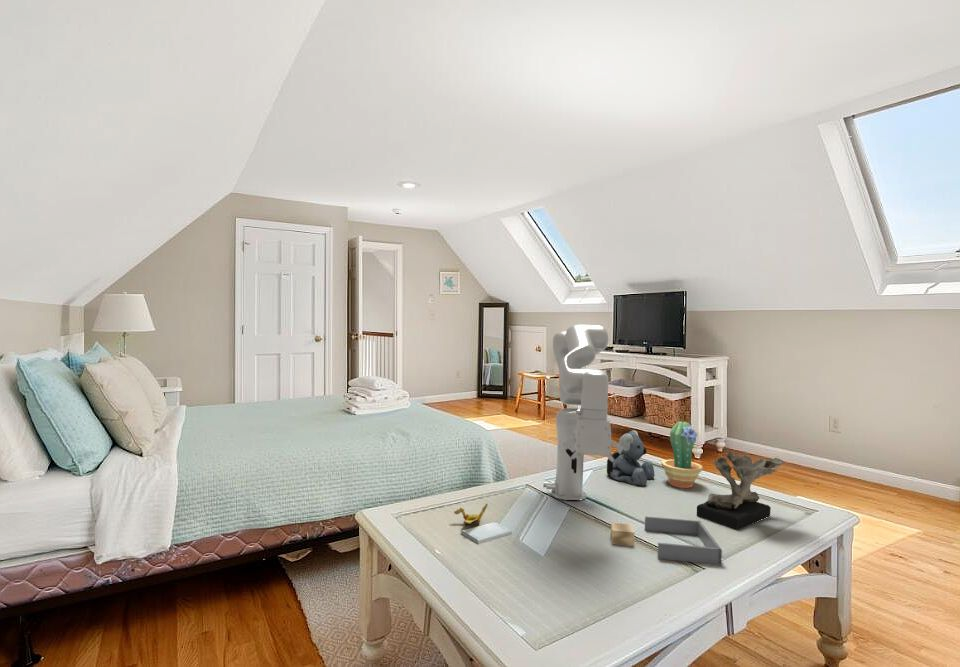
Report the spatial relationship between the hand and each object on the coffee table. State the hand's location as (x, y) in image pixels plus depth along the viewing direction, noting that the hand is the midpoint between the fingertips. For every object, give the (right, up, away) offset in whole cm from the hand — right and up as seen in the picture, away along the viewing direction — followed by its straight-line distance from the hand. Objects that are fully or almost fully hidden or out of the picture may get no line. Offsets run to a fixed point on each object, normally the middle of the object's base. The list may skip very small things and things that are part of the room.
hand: (591, 473), depth 148 cm
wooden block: (+8, -19, -1) cm, 21 cm away
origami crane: (-35, -18, +6) cm, 40 cm away
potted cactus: (+48, -20, +55) cm, 75 cm away
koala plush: (+28, -19, +61) cm, 69 cm away
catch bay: (+24, -20, -4) cm, 31 cm away
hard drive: (-31, -18, 0) cm, 36 cm away
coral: (+55, -21, +19) cm, 62 cm away
